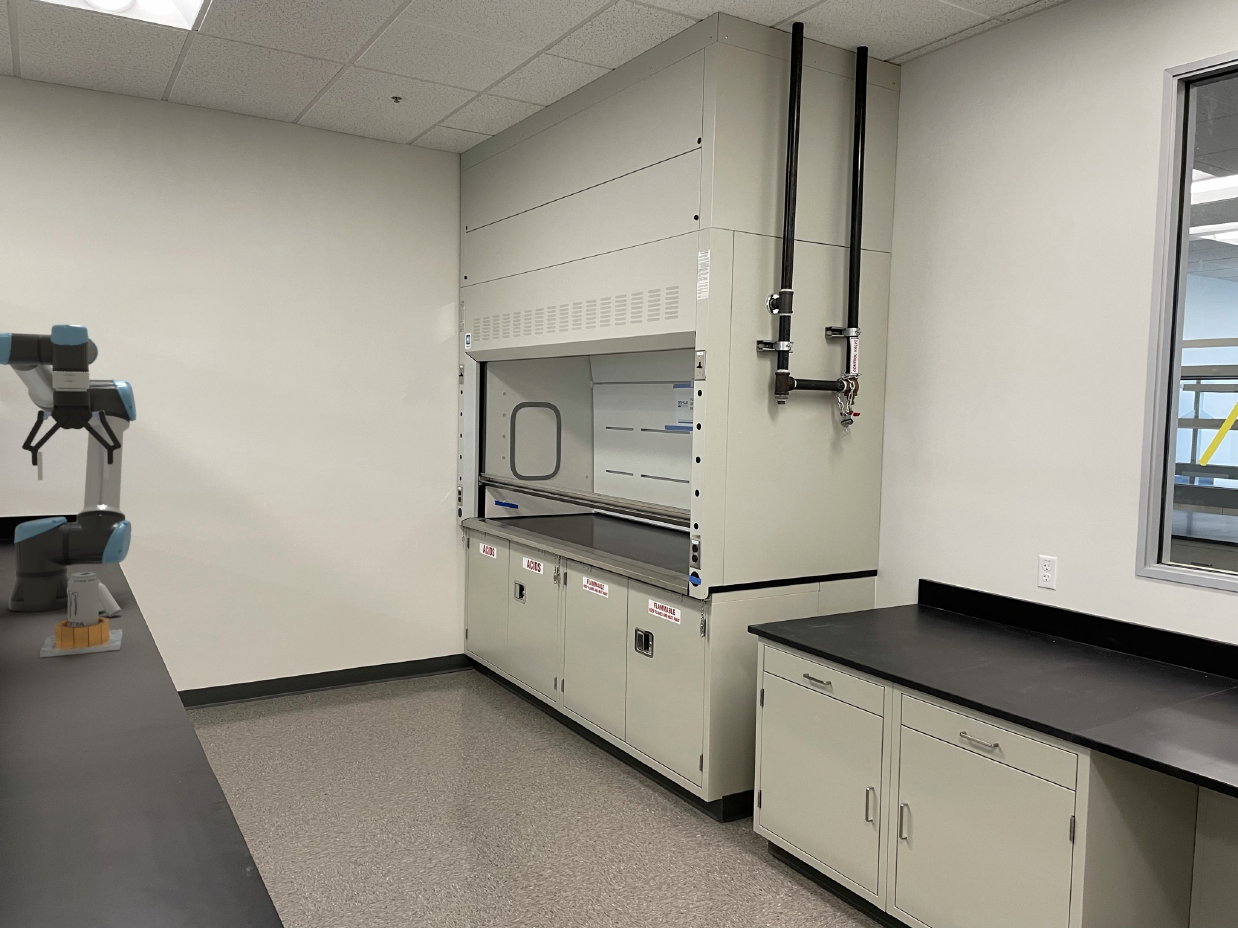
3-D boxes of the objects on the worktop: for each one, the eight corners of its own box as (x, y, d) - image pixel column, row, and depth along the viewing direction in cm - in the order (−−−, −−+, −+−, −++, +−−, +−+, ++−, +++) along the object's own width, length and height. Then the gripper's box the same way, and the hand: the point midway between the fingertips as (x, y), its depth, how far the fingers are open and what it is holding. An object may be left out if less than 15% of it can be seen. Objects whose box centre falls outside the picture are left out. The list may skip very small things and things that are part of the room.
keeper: (47, 640, 208) (47, 618, 208) (122, 634, 215) (121, 612, 214) (40, 657, 195) (39, 633, 194) (119, 649, 201) (119, 626, 201)
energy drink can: (61, 640, 203) (61, 574, 202) (86, 634, 208) (86, 570, 207) (79, 644, 201) (80, 577, 199) (104, 638, 206) (105, 573, 205)
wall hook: (108, 618, 228) (99, 579, 227) (74, 625, 230) (65, 586, 230) (131, 611, 236) (123, 573, 235) (98, 618, 238) (90, 580, 238)
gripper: (6, 389, 207) (9, 481, 209) (130, 391, 218) (132, 478, 220) (10, 389, 214) (14, 478, 215) (131, 391, 225) (133, 476, 227)
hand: (73, 479), depth 218 cm, fingers open, 13 cm apart
